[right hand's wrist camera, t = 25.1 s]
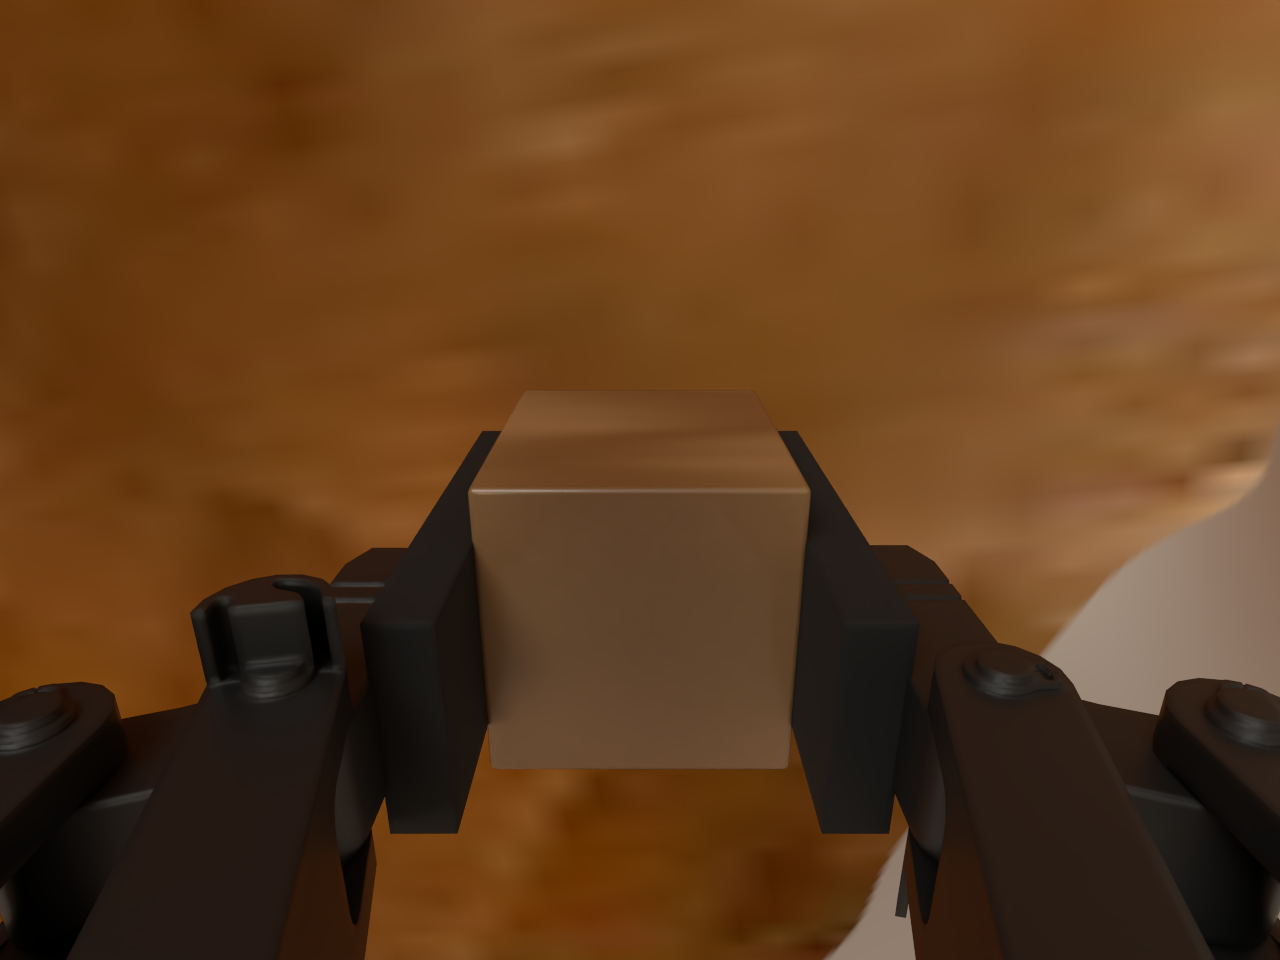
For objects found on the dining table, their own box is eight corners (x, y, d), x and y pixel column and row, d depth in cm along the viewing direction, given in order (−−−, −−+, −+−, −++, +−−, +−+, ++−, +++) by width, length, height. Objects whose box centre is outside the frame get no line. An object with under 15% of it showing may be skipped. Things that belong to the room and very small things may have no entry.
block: (755, 389, 14) (813, 488, 9) (745, 597, 15) (789, 771, 11) (523, 389, 14) (465, 488, 9) (534, 597, 15) (489, 772, 11)
